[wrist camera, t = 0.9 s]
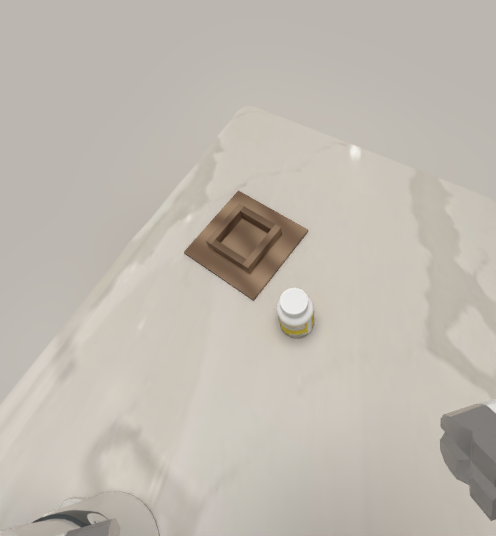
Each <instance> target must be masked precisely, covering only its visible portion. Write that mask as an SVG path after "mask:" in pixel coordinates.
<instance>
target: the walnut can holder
mask: <svg viewBox="0 0 496 536" xmlns="http://www.w3.org/2000/svg"><path fill="white" fill-rule="evenodd" d="M307 232H308V229H306V228H304V227H302V226H300V225H299V224H297V223H295V222H293V221H292V220H290V219H288V218H286V217H284V216H283V215H281V214H279V213H277V212H275V211H274V210H272V209H270V208H268V207H267V206H265V205H263V204H261V203H259V202H258V201H256V200H254V199H252V198H251V197H249V196H247V195H245V194H243V193H242V192H240V191H238V192H237V193H236V194H235V195H234V196H233V197H232V198H231V199H230V201H229V202H228V203H227V204H226V205H225V206H224V207H223V209H222V210H221V211H220V212H219V213H218V214H217V215H216V216H215V218H214V219H213V220H212V221H211V222H210V223H209V224H208V225H207V227H206V228H205V229H204V230H203V231H202V232H201V233H200V235H199V236H198V237H197V238H196V239H195V240H194V241H193V242H192V244H191V245H190V246H189V247H188V248H187V249H186V250H185V251H184V253H185V254H186V255H188V256H189V257H191V258H192V259H193V260H195V261H196V262H198V263H199V264H201V265H202V266H204V267H205V268H207V269H208V270H210V271H211V272H213V273H214V274H215V275H217V276H218V277H220V278H221V279H223V280H224V281H226V282H227V283H229V284H230V285H232V286H233V287H235V288H236V289H237V290H239V291H240V292H242V293H243V294H245V295H246V296H248V297H249V298H251V299H252V300H255V298H256V297H257V296H258V295H259V293H260V292H261V291H262V289H263V288H264V287H265V286H266V284H267V283H268V282H269V281H270V279H271V278H272V277H273V276H274V274H275V273H276V272H277V270H278V269H279V268H280V267H281V265H282V264H283V263H284V262H285V260H286V259H287V258H288V256H289V255H290V254H291V253H292V251H293V250H294V249H295V248H296V246H297V245H298V244H299V242H300V241H301V240H302V239H303V237H304V236H305V235H306V234H307Z"/></svg>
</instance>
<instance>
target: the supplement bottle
mask: <svg viewBox="0 0 496 536" xmlns="http://www.w3.org/2000/svg"><path fill="white" fill-rule="evenodd" d="M277 315H278V318H279V322H280V326H281V328H282V330H283V331H284V333H285V334H287V335H288V336H290V337H293V338H302V337H304V336H306V335H308V334H309V333H310V332H311V330H312V328H313V325H314V307H313V303H312V300H311V299H310V297H309V296H308V295H306V293H305V292H304V291H303V290H301V289H299V288H289V289H287V290H285V291H284V292H283V293H282V295H281V297H280V299H279V300H278V303H277Z"/></svg>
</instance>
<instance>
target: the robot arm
mask: <svg viewBox="0 0 496 536" xmlns="http://www.w3.org/2000/svg"><path fill="white" fill-rule="evenodd" d="M441 428H442V429H443V430H444V431H445V433H444V435H443V436H442V438H441V439H440V450H441V453H442V456H443V459H444V461H445V463H446V465H447V466H448V468H449V470H450V471H451V472H452V474H453V475H454V476H455V477H456V479H458V480H460V481H462V482H464V483H466V484H468V485H469V491H470V496H471V497H472V498H473V500H474V501H475V502H476V503H477V504H478V506H479V507H480V508H481V509H482V510H483V512H484V513H485V514H486V515H487V517H488V518H489V519H490V520H491V521H492V520H495V519H496V398H495V399H492V400H489V401H486V402H482V403H480V404H475V405H471V406H468V407H465V408H462V409H459V410H456V411H453V412H450V413H447V414H444V415H443V416H442V418H441ZM0 536H159V533H158V529H157V526H156V523H155V520H154V518H153V516H152V514H151V513H150V511H149V510H148V508H147V507H146V506H145V505H144V504H143V503H142V502H141V501H140V500H139V499H137V498H136V497H134V496H132V495H130V494H127V493H124V492H107V493H103V494H100V495H98V496H95V497H92V498H88V499H86V498H77V497H75V498H70V499H67V500H65V501H64V502H63V503H62V505H61V507H60V508H59V509H56V510H53V511H51V512H48V513H46V514H45V515H44V516H43V517H42V518H40V519H38V520H36V521H34V522H33V523H31V524H27V525H23V526H18V527H14V528H9V529H5V530H1V531H0Z"/></svg>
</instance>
